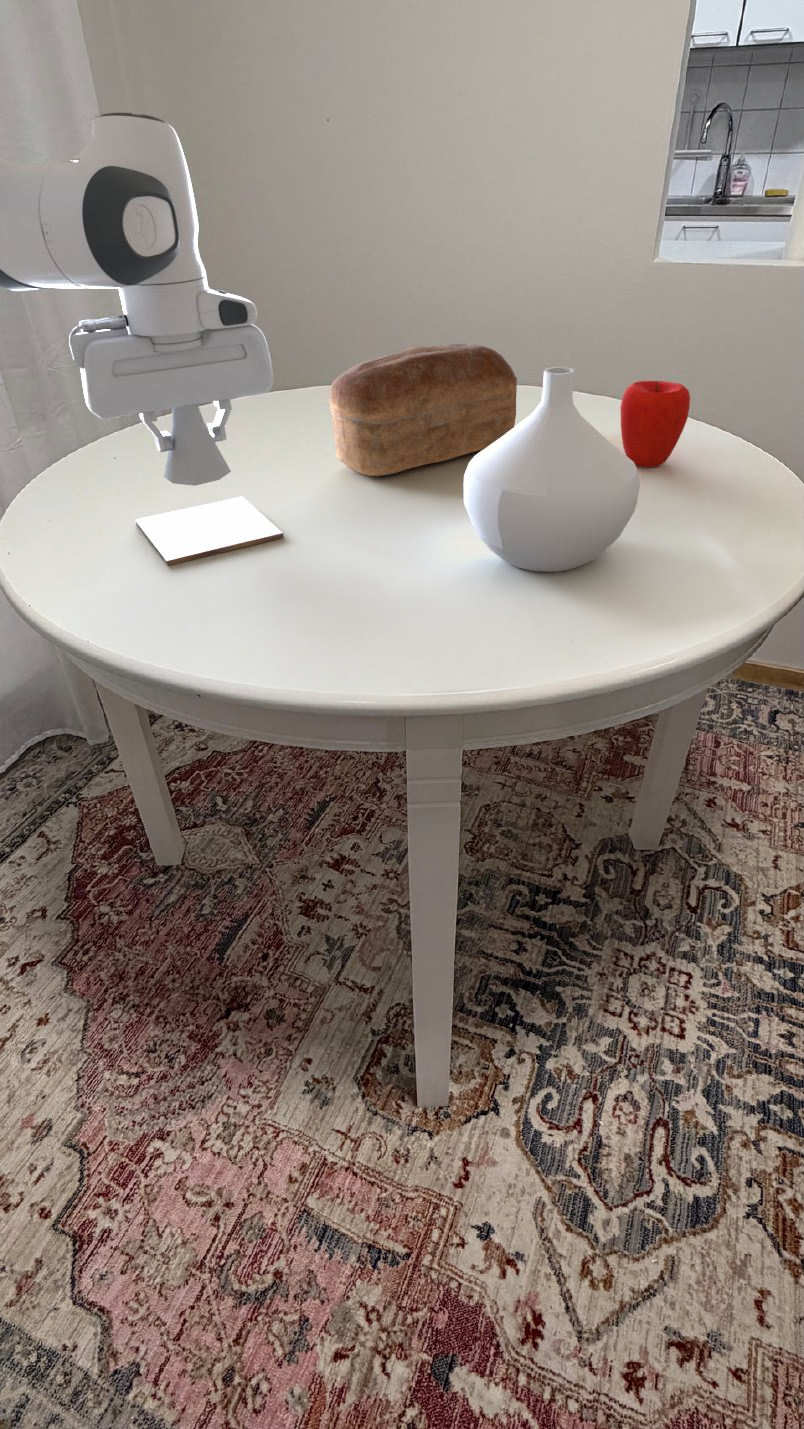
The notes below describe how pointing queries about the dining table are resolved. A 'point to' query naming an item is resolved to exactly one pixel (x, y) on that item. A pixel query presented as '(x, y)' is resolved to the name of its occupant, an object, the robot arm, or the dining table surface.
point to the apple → (653, 420)
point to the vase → (551, 486)
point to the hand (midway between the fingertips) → (192, 445)
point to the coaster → (207, 530)
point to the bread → (421, 407)
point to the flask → (193, 450)
